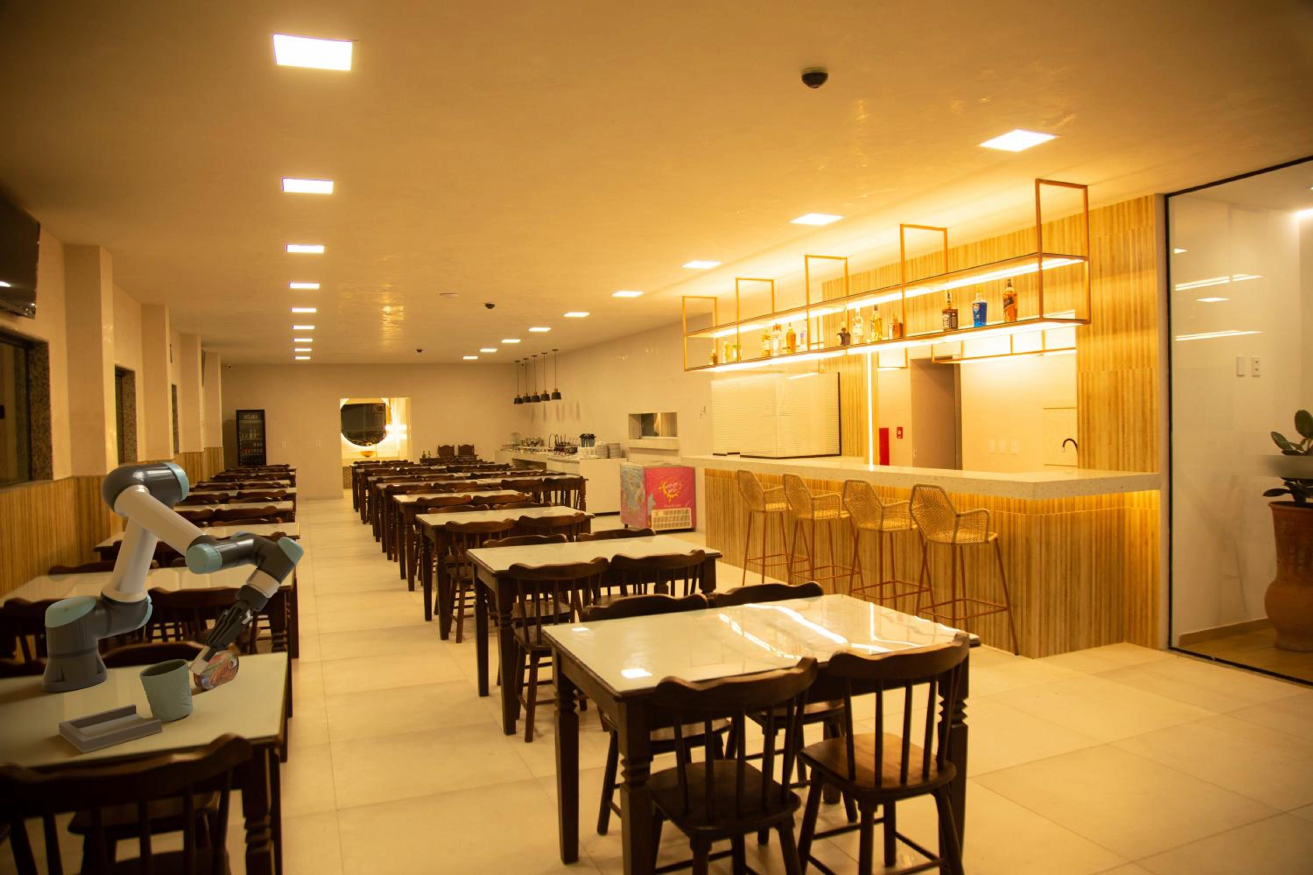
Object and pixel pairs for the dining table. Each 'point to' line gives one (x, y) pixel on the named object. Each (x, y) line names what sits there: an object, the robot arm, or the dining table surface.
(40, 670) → the dining table surface
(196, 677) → the tin
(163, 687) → the green embossed cup
